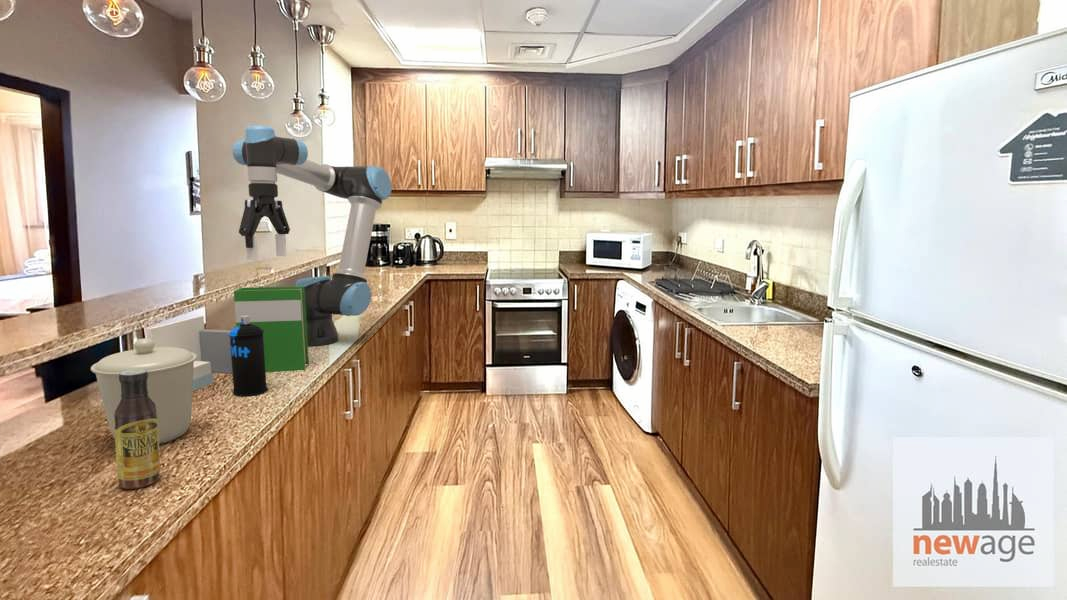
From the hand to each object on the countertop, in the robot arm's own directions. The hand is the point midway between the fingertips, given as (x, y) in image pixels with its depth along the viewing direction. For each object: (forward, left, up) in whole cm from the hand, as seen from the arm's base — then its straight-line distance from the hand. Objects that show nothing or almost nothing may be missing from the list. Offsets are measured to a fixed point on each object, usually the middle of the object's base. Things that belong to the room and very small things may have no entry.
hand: (267, 258), depth 170 cm
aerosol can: (+21, +7, -33) cm, 40 cm away
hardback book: (0, 0, -33) cm, 33 cm away
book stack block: (+20, -13, -33) cm, 41 cm away
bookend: (+5, -13, -33) cm, 36 cm away
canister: (+53, +7, -33) cm, 63 cm away
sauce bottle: (+71, +21, -33) cm, 81 cm away
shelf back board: (+14, -19, -33) cm, 41 cm away
